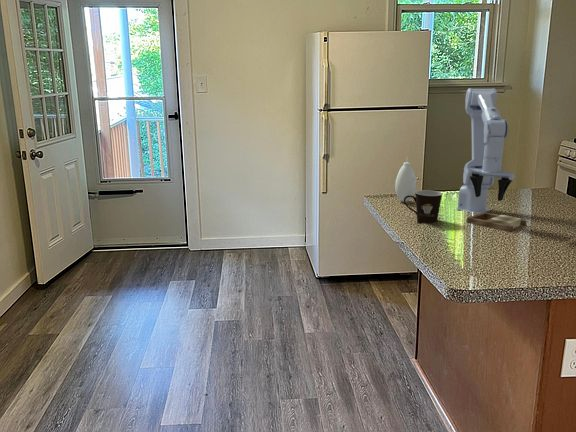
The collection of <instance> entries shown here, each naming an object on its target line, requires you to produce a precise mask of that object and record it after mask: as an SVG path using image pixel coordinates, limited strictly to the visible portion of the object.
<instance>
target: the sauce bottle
mask: <svg viewBox="0 0 576 432" xmlns="http://www.w3.org/2000/svg"><path fill="white" fill-rule="evenodd" d="M408 157H409V156H408V155H407V156H406V161H405V162H403V163H402V164H403V165H402V166H401V167H400V168H399V171H398V173H397V176H396V179H395V183H394V186H395V187H394V188H395V189H394V190H395V194H396V197H397V199H399V200H400V201H401V202H403V203H404V198H405V197H406V196H408V195H411V196H414V197H415V195H416V189H417V182H416V181H417V179H416V175H415V171H414V169H413V167H412V165H411V162H408V159H409V158H408ZM412 199H413V198H412V197H408V198H406V200H405V202H406V203H408V202H410V200H412Z"/></svg>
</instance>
